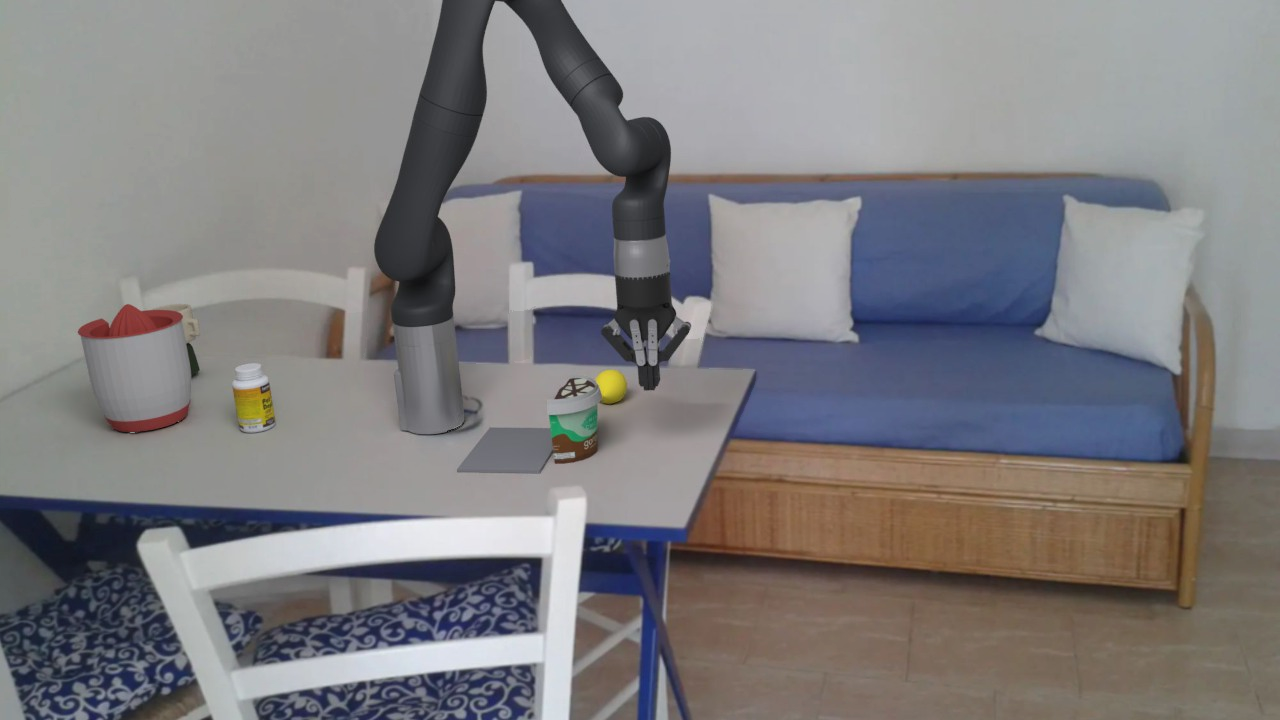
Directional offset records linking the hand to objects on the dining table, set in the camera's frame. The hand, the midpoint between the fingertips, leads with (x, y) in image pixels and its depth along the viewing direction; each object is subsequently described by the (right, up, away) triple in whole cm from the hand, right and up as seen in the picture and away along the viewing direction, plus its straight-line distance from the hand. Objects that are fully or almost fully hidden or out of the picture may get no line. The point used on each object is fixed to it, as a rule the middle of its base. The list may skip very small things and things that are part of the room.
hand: (650, 388), depth 160 cm
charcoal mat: (-20, -9, +6) cm, 23 cm away
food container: (-10, -9, +5) cm, 14 cm away
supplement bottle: (-62, -7, +22) cm, 66 cm away
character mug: (-86, +1, +50) cm, 99 cm away
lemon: (-6, -3, +24) cm, 25 cm away
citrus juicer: (-83, -6, +28) cm, 87 cm away
